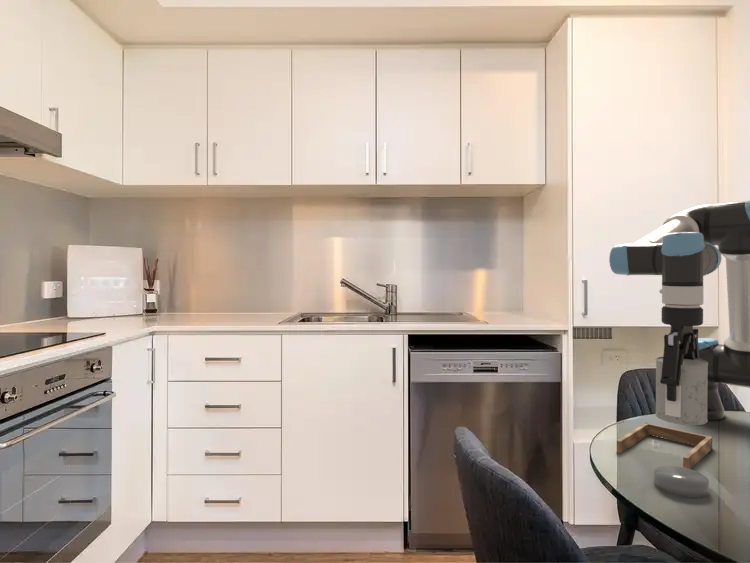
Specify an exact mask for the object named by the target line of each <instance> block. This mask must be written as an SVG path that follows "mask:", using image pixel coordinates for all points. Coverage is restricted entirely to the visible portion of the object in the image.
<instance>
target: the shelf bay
mask: <svg viewBox="0 0 750 563" xmlns="http://www.w3.org/2000/svg"><path fill="white" fill-rule="evenodd" d="M650 435H654V436H653V437H655V436H658V437H657V438H659V437H663V438H666V439H665V440H668V439H669V440H668V441H672V440H674V441H673V442H676V441H678V442H677V443H681V442H683V443H682V444H685V443H687V444H686V445H689V444H691V446H693V448H692V449H691V450H690V451H688V453H686V454H685V455H684V456H683V458H682V467H683V468H687V469H691V470H692V468H693V467H694V466H695V465H696V464H697V463H698V462H699V461H701V460H702V459H703V458H704V457H705V456H706V455H707V454H708V453H709V452H710V451H711V450H712V449H713V436H710V435H705V434H699V433H695V432H691V431H687V430H682V429H677V428H672V427H667V426H663V425H659V424H654V423H649V422H644V423H643V424H641V425H639V426H638V427H636V428H634V429H632V430H631V431H629V432H628V433H626V434H624V435H623V436H622V437H620V438H618V439H617V440H616V453H620V454H621V453H623V452H625V451H626V450H628V449H629V448H630V447H632V446H634V445H635V444H637V443H638V442H640V441H641V440H643V439H644V438H645V436H646V437H647V436H650ZM663 438H662V439H663ZM694 445H695V446H694Z"/></svg>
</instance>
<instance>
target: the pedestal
mask: <svg viewBox="0 0 750 563" xmlns="http://www.w3.org/2000/svg"><path fill="white" fill-rule="evenodd" d="M653 473H654V474H653V476H654V477H653V483H654V485H655V487H656V488H658V489H659V490H660V491H662V492H664V493H665V494H669V495H672V496H677V497H680V498H686V499H701V498H704V497H707V496H708V495H709V492H710V489H709V487H710V486H709V485H710V484H709V482H710V480H709V478H708V477H707V476H706V475H704V474H703V473H700V472H699V471H696V470H694V469H692V468H691V469H687V468H683V466H676V465H675V466H673V465H664V466H658V467H656V468H655V469H654V472H653Z"/></svg>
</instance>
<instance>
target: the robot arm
mask: <svg viewBox="0 0 750 563" xmlns="http://www.w3.org/2000/svg"><path fill="white" fill-rule="evenodd" d="M717 246H718V247H717ZM722 256H723V257H724V258H725V270H726V271H725V272H726V290H727V305H728V306H727V307H728V308H727V309H728V326H729V327H728V328H729V336H728V337H727V338H726V339H724V341H723V344H720V343H719V342H720V341H719V340H718V339H717V338H713V337H699V328H694V327H699V326H701V325H703V324H704V308H703V307H701V306H703V305H704V276H707V275H709V274H712V273H713V272H715V271H716V270H717V269H718V268H719V266H720V265H721V262H722ZM608 259H609V267H610V270H611V271H612V272H613V273H614V274H615V275H625V276H661V289H659V291H658V292H659V294H661V303H662V304H663V306H662V307H661V322H662V324H664V325H668V326H670V332H669V333H668V334H664V336H663V338H664V339H663V341H664V342H663V344H664V347H663V355H662V357H663V365H662V376H661V380H660V383H661V384H665V415H669V416H674V417H679V418H680V417H681V385H679V382H680V376H681V365H682V364H683V359H690V360H693V359H695V358H697V359H701V360H705V361H707V362H708V391H707V420H708V421H718V420H721V419H724V418H725V408H724V405H723V403H722V400H721V397H720V393H719V391H718V386H719V385H718V384H723V385H729V386H736V387H742V388H747V389H750V200H745V201H735V202H725V203H713V204H701V205H697V206H694V207H691V208H688V209H685V210H683V211H680V212H678V213H676V214H673V215H672V216H670V217H669V218H667V219H666V220H665V221H664V222H663V224H662V226H660V227H659V228H657V229H655V230H654V231H651V233H649V234H647V235H645V236H643V237H642V238H640V239H639V240H637V241H635V242H634V243H624V244H622V243H621V244H616V245H614V246H613V247H612V248H611V250H610V253H609V258H608ZM670 377H671V378H670Z"/></svg>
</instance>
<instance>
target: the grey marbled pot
mask: <svg viewBox="0 0 750 563" xmlns="http://www.w3.org/2000/svg"><path fill="white" fill-rule="evenodd" d="M662 365H663V356H658V357H656V358H655V417H657V418H658V419H659V420H662V421H664V422H667V423H672V424H677V425H684V426H700V425H705V424H708V422H709V420H707V391H708V362H707V361H705V360H701V359H697V358H695V359H693V360H690V359H683V364H682V365H681V376H680V382H679V385H681V417H680V418H679V417H674V416H669V415H665V384H661V383H660V380H661V376H662ZM670 378H671V377H670Z"/></svg>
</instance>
